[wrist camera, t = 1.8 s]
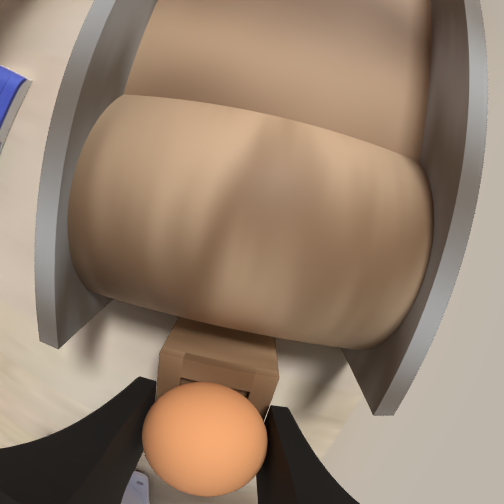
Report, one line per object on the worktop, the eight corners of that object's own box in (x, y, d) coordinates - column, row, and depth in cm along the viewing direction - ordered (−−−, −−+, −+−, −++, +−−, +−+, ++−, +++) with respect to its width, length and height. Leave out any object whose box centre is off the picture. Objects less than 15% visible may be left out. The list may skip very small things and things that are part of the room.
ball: (252, 443, 11) (251, 521, 7) (157, 423, 10) (130, 497, 7) (278, 371, 10) (288, 460, 6) (163, 346, 10) (121, 426, 6)
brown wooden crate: (253, 406, 13) (252, 449, 10) (170, 388, 13) (154, 429, 10) (274, 336, 12) (279, 378, 9) (179, 316, 12) (160, 352, 9)
